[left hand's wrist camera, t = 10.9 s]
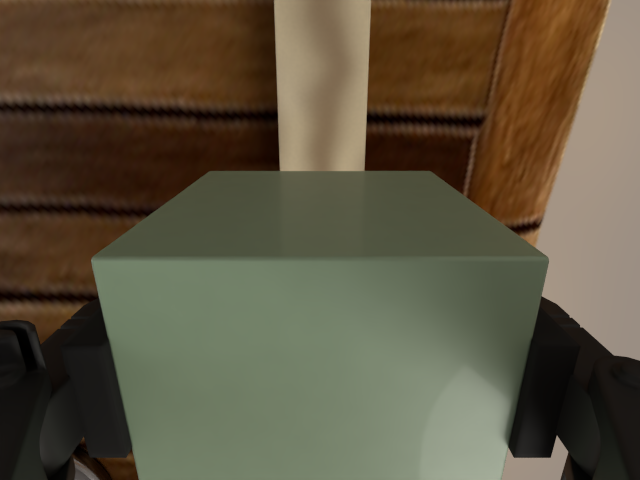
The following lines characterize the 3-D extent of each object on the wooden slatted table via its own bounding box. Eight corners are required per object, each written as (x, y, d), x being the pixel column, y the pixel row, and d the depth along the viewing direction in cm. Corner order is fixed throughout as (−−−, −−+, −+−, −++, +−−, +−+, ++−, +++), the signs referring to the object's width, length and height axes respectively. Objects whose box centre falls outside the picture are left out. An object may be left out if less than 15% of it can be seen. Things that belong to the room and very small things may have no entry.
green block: (223, 315, 16) (142, 503, 9) (209, 170, 14) (87, 257, 7) (417, 315, 16) (497, 503, 9) (431, 170, 14) (552, 257, 7)
